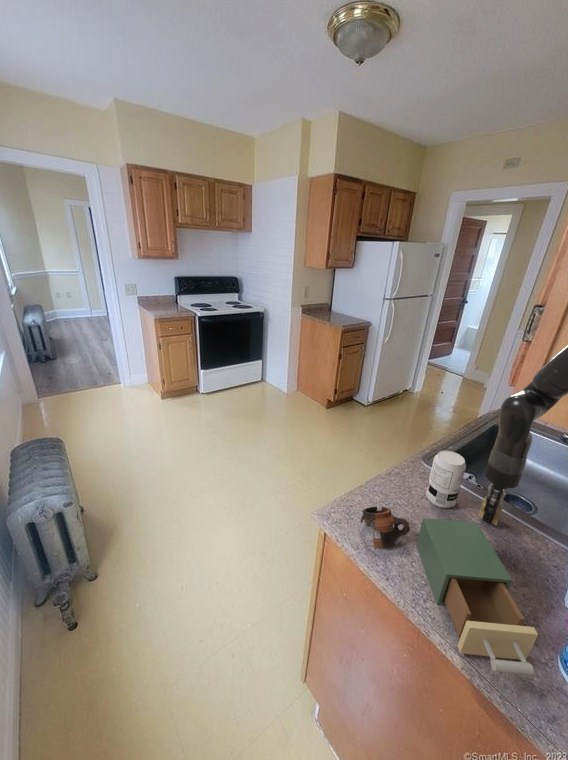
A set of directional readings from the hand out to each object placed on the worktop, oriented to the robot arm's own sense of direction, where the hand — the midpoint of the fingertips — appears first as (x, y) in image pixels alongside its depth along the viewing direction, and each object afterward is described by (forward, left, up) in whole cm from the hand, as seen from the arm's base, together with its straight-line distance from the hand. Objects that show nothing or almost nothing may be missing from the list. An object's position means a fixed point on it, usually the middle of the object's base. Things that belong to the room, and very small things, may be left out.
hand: (489, 515), depth 89 cm
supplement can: (+10, -7, -2) cm, 13 cm away
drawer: (+16, +30, -1) cm, 34 cm away
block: (0, 0, 0) cm, 0 cm away
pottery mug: (+30, +8, -2) cm, 31 cm away
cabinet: (+16, +18, -2) cm, 24 cm away
